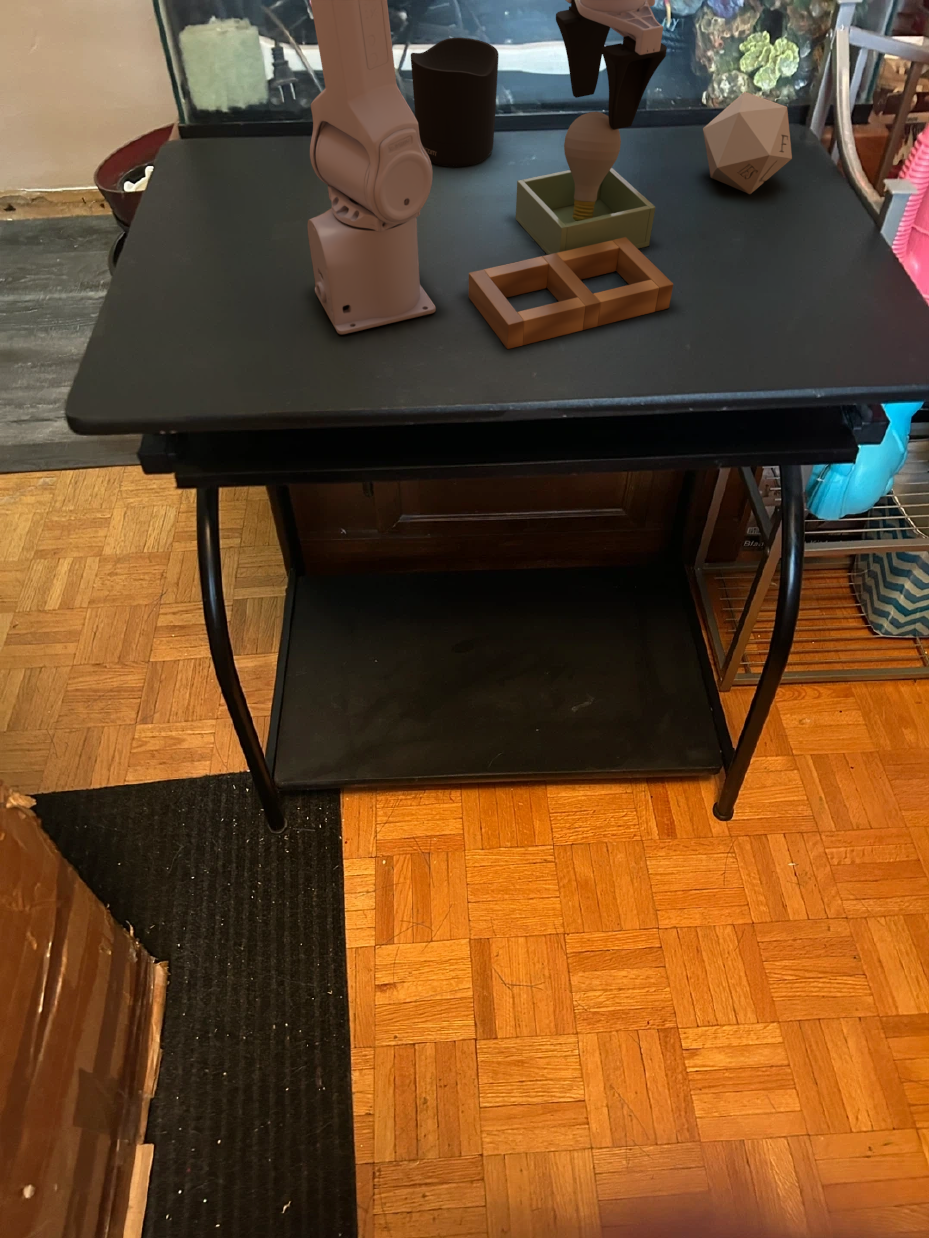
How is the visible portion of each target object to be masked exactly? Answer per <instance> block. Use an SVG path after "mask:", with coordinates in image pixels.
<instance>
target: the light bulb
mask: <svg viewBox="0 0 929 1238" xmlns="http://www.w3.org/2000/svg"><path fill="white" fill-rule="evenodd" d="M621 145H622V140H621V132H620V129H615V130H613V129H612V128H611V127H610V125H609V117H608V115H607V114H605V113H604V112H600V111H590V112H587V113H584V114H581V115H580V116H578V117H577V118H575V119H574V120H573V121H572V123H571V124H570V125H569V126H568V129H567V131H566V134H565V137H564V143H563V149H564V150H563V152H564V156H565V160H566V163H567V165H568V168H569V170H570V171H571V174H572V177H573V180H574V183H575V194H574V199H575V201H574V205H575V206H574V211H573V213H574V214H573V215H572V217H573V219H574V220H575V221H581V220H585V219H590V218H593V217H592V216H593V212H594V210H593V209H594V205H595V201H596V200H597V192H598V189H599V186H600V184H601V183H602V181H603V179H604V178H605V176H606V175H607V173H608V172H609V170H610V169H611V168H613V166H614V164H615V163H616V161H617V159H618V157H619V154H620V151H621Z"/></svg>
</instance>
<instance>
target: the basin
mask: <svg viewBox="0 0 929 1238" xmlns="http://www.w3.org/2000/svg"><path fill="white" fill-rule="evenodd" d="M574 194H575V183H574V180H573V177H572V174H571V171H570V169H567V170H563V171H558V172H553V173H548V174H544V175H539V176H533V177H529V178H524V179H519V180H516V200H515V201H516V202H515V220H516V221H517V222H518V224H519V225H521V227H522V228H523V229H524V230H525V231H526V232H527V233H528V235H529V236H530V237H531V238H532V240H534V241H535V243H536V244H537V245H538V246H539V247H540V248H541V249H542V250H543V251H544V253H545V255H549V254H554V253H559V252H563V251H567V250H572V249H576V248H580V247H585V246H589V245H594V244H598V243H602V242H607V241H611V240H615V239H620V238H624V237H626V238H627V239H628V240H629V241H630V242H631V243H632V244H633V245H634V246H635V247H636V248H637V249H638V250H639V249H642V248H646V247H649V246H650V243H651V242H650V241H651V238H652V237H651V236H652V229H653V226H654V225H653V223H654V218H655V214H656V213H655V212H656V206H655V205H654V204H653V203H652V202H650V200H649V199H647V198H646V197H645V196H644V195H643V194H641V193H640V192H639V191H638V190H637V189H636V188H635V187H634V186H633V185H632V184H630V183H629V181H627V180H626V179H625V178H624V177H623V176H622V175H621V174H619V173H618V172H617V171H616V170H615V168H613V167H612V168H611V169H610V170H609V172H608V173H607V175H606V176H605V178H604V179H603V181H602V183H601V184H600V186H599V189H598V192H597V200H596V201H595V205H594V209H593V210H594V212H593V216H592V217H593V218H590V219H585V220H581V221H575V220H574V219H573V217H572V215H573V214H574V213H573V211H574V206H575V205H574V201H575V199H574Z"/></svg>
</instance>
